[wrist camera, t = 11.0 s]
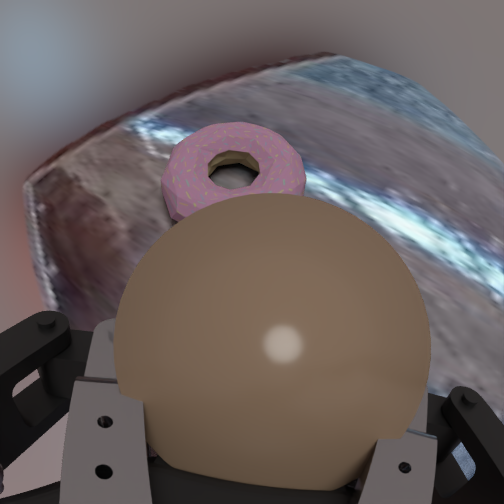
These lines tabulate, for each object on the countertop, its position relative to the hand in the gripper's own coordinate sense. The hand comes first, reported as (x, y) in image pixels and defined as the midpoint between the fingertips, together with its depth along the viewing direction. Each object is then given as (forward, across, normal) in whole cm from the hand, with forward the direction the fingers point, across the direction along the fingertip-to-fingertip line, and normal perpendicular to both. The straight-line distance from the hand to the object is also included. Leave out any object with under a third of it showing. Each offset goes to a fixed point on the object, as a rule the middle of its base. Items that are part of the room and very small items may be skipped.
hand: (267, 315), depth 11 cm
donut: (+25, +5, 0) cm, 25 cm away
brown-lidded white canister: (+2, 0, +4) cm, 5 cm away
